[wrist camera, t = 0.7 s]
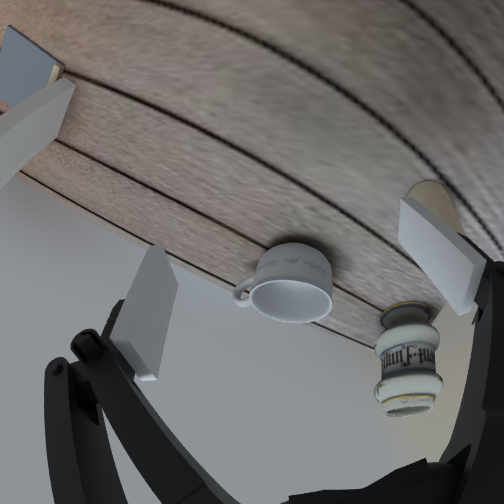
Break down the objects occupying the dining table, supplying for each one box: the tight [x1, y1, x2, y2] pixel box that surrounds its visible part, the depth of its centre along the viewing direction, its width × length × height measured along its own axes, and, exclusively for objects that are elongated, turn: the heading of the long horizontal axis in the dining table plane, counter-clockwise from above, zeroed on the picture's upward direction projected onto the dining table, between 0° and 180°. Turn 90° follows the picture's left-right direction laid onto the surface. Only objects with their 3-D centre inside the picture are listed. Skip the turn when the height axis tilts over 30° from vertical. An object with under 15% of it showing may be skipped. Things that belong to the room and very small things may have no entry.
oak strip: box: [47, 62, 65, 86], centre depth 28 cm, size 1×13×1 cm, turn 137°
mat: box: [0, 25, 64, 108], centre depth 25 cm, size 15×13×1 cm
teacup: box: [233, 243, 333, 323], centre depth 39 cm, size 14×11×8 cm
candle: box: [407, 181, 466, 236], centre depth 26 cm, size 6×6×10 cm
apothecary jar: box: [374, 302, 443, 417], centre depth 40 cm, size 12×12×18 cm
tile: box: [0, 77, 76, 189], centre depth 24 cm, size 3×10×14 cm, turn 137°
